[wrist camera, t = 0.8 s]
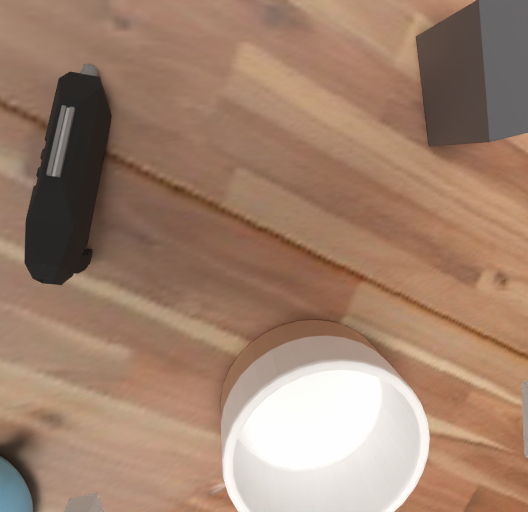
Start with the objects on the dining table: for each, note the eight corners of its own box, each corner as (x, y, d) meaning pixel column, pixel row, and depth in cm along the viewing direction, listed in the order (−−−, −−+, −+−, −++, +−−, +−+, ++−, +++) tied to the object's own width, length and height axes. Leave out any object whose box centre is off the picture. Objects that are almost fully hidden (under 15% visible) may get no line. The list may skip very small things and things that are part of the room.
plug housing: (416, 36, 33) (478, -1, 25) (465, 25, 33) (541, -15, 26) (428, 146, 35) (489, 142, 28) (474, 134, 36) (547, 127, 28)
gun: (125, 126, 37) (103, 47, 27) (95, 298, 33) (57, 275, 23) (93, 121, 37) (59, 38, 27) (58, 295, 32) (4, 270, 23)
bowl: (245, 301, 37) (255, 340, 29) (410, 337, 40) (461, 382, 32) (200, 458, 40) (198, 534, 32) (356, 481, 43) (390, 554, 35)
